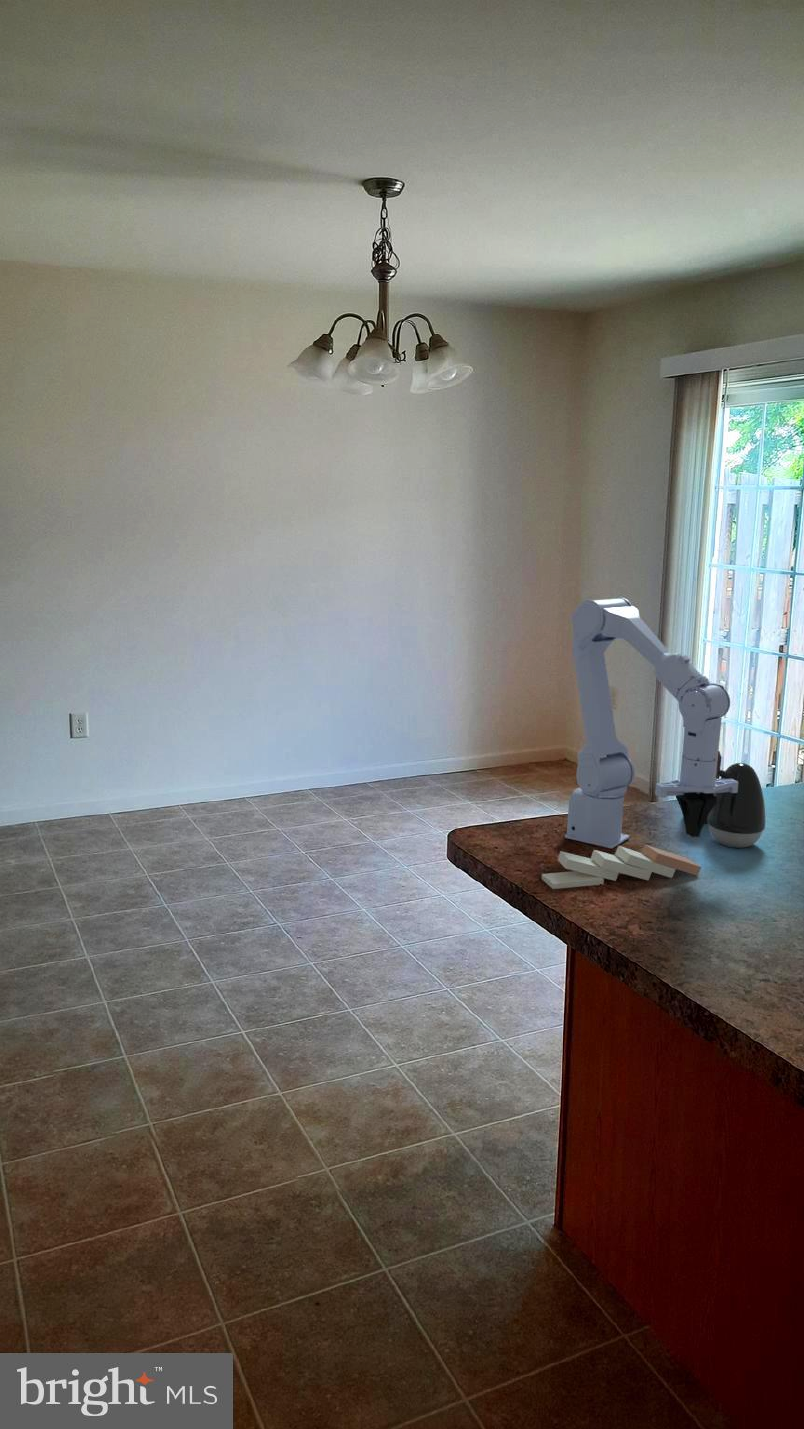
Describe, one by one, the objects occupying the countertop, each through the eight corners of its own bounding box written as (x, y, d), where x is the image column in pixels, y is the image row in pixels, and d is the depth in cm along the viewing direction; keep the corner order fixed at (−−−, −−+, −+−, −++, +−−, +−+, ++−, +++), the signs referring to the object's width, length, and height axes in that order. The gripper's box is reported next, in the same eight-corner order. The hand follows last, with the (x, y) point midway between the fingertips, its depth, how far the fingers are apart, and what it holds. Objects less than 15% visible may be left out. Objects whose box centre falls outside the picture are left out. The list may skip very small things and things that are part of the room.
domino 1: (603, 888, 171) (552, 893, 169) (590, 878, 176) (541, 883, 173) (603, 879, 171) (553, 883, 168) (591, 869, 175) (541, 874, 173)
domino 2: (615, 880, 172) (565, 868, 171) (606, 872, 177) (557, 859, 175) (618, 871, 172) (568, 859, 170) (609, 863, 176) (560, 850, 175)
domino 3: (648, 880, 173) (601, 867, 171) (636, 871, 178) (590, 858, 175) (651, 871, 173) (605, 858, 171) (639, 862, 177) (593, 849, 175)
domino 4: (671, 878, 174) (626, 863, 172) (659, 868, 179) (614, 854, 176) (675, 869, 174) (630, 854, 172) (662, 860, 178) (618, 845, 176)
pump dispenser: (692, 837, 196) (699, 758, 192) (736, 831, 200) (744, 754, 196) (729, 855, 186) (737, 773, 183) (775, 848, 191) (784, 768, 187)
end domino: (697, 875, 176) (654, 862, 173) (683, 866, 180) (641, 853, 177) (701, 867, 176) (658, 853, 173) (687, 858, 180) (644, 844, 177)
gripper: (673, 765, 168) (667, 846, 171) (752, 761, 172) (743, 839, 175) (651, 754, 175) (645, 832, 178) (727, 750, 179) (719, 826, 182)
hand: (692, 835), depth 177 cm, fingers closed
